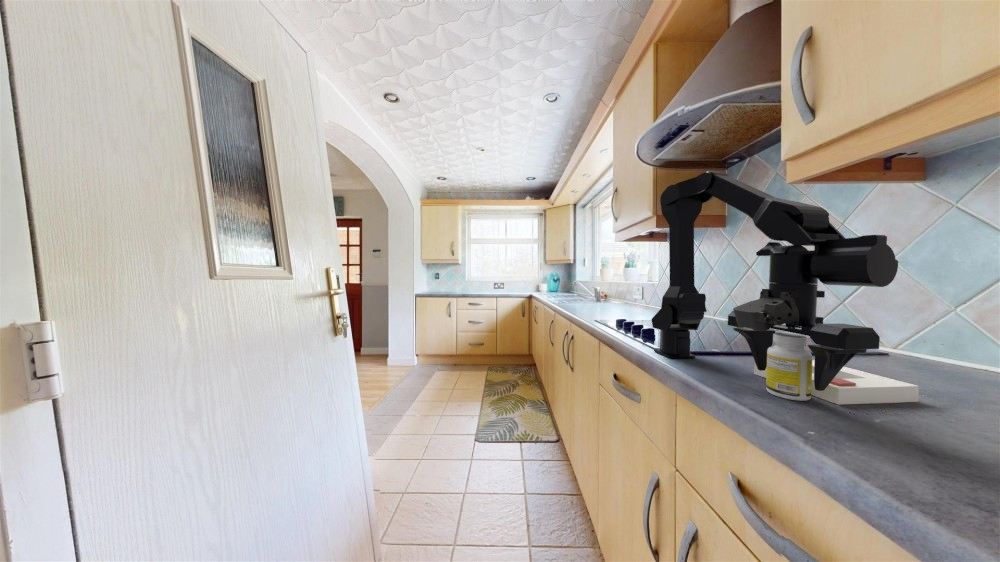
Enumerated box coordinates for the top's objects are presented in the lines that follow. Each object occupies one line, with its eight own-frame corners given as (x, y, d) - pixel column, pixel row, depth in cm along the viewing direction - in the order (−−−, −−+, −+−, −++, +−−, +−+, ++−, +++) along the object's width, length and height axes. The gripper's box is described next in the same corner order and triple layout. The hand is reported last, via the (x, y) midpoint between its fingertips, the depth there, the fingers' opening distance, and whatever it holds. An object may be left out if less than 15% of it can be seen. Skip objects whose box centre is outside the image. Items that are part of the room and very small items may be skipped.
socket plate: (754, 373, 61) (754, 359, 61) (817, 372, 62) (818, 358, 62) (838, 404, 47) (839, 385, 47) (917, 401, 49) (919, 383, 48)
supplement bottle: (791, 389, 53) (794, 332, 53) (820, 402, 48) (824, 339, 47) (757, 387, 54) (759, 331, 53) (782, 401, 48) (785, 338, 48)
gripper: (702, 281, 59) (699, 363, 59) (810, 286, 40) (804, 405, 41) (756, 281, 60) (753, 362, 60) (886, 287, 41) (879, 403, 42)
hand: (787, 379), depth 51 cm, fingers open, 9 cm apart
